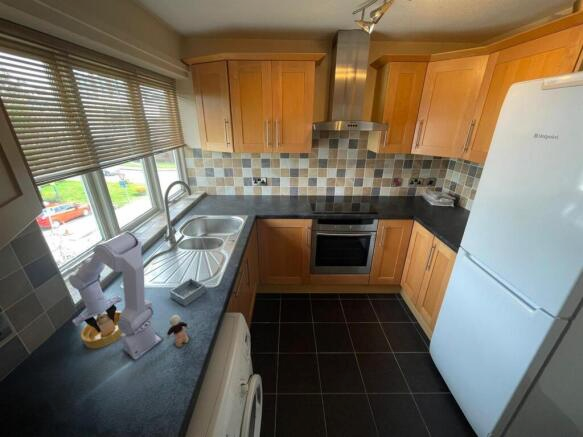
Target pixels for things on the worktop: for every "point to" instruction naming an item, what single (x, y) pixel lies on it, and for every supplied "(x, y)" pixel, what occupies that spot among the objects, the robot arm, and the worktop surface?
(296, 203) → the worktop surface
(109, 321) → the toy
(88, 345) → the bowl
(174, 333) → the grandmother figurine
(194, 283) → the tub
